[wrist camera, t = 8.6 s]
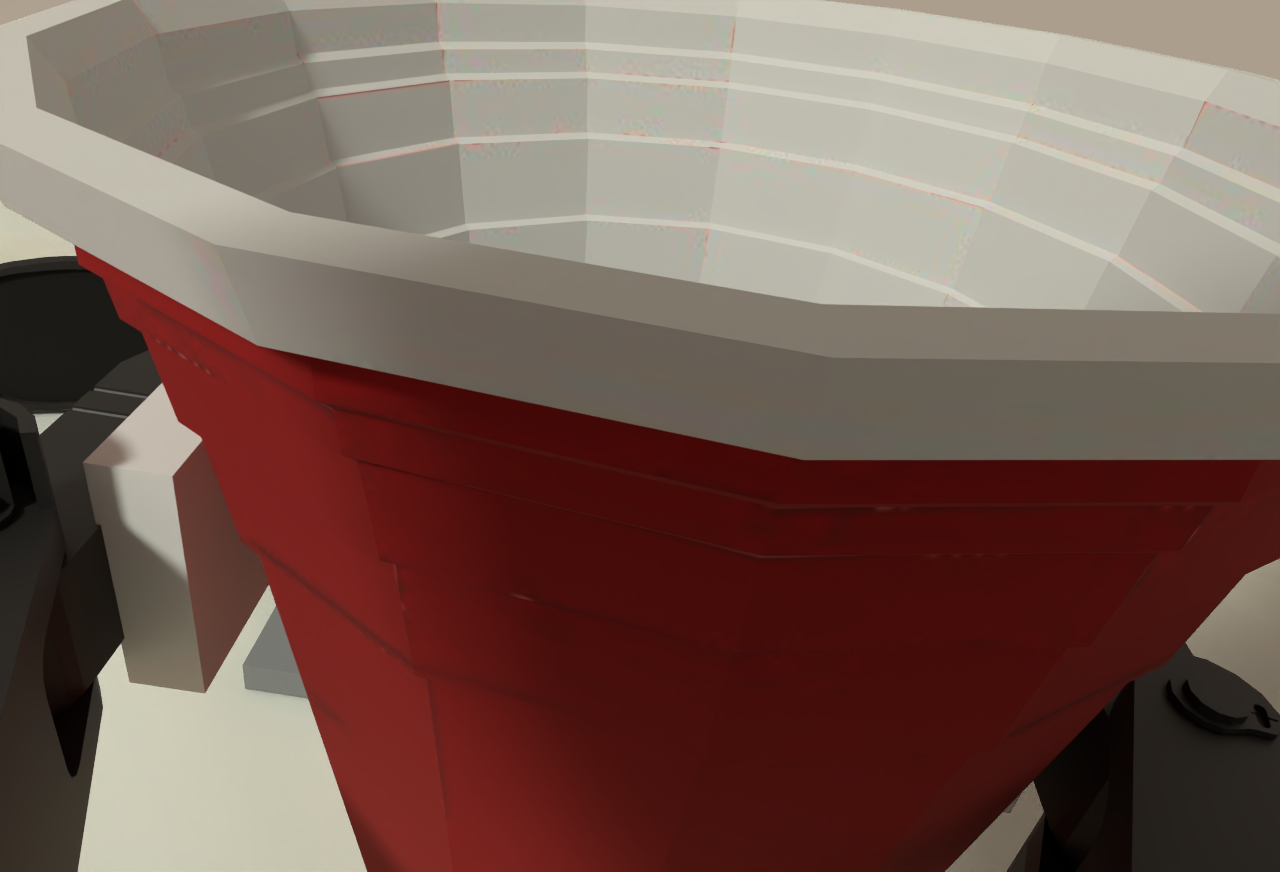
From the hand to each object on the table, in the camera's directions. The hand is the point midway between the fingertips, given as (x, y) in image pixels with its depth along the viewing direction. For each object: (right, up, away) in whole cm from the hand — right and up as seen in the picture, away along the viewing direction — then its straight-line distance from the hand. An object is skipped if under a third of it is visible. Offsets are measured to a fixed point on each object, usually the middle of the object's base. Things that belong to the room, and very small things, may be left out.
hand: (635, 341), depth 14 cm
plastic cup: (-1, -8, 0) cm, 8 cm away
